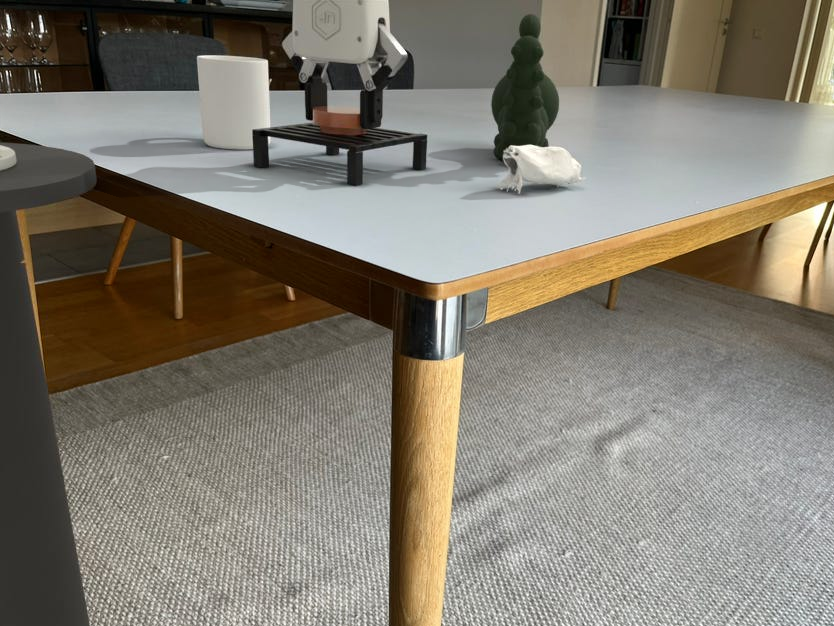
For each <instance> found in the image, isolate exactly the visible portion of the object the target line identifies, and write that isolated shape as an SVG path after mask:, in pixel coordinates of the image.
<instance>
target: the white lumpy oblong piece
mask: <svg viewBox="0 0 834 626" xmlns="http://www.w3.org/2000/svg"><path fill="white" fill-rule="evenodd" d="M503 163H504V165H506V167H507V168H508V171H509V173H508V175H507V176H505V178H504V179H503V180H501V183H500V184H501V186H500V187H499V189H500V191H502V190H503V189H504V188H507V189H506V192H509V189H510V188H511V190H514V191H515V192H517V194H520V195H521V192H522V191H521V190H522V188H523V182H527V183H530V184H531V183H532V184H536V185H538V184H539V185H550V186H556V188H559V187H560V186H561V185H562V184H565V183H566V184H568V185H574V184H578V183H581V182H583V181H586V177H580V176H581V175H580V174H581V171H582V165H581V164H580V163H579V162H578V161H577V160H576V159H575V158H573V157H572V155H571V153H570V152H569V151H567V150H566V149H565V148H564V147H561V146H560V147H559V146H550V145H549V147H538V146H534V145H524V146H512V145H510V146H509V147H508V149H507V148H506V150H504V154H503Z"/></svg>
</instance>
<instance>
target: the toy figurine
mask: <svg viewBox="0 0 834 626" xmlns="http://www.w3.org/2000/svg"><path fill="white" fill-rule="evenodd" d="M541 29H542V25H541V21H540V19H539V17H538V16H537V15H535V14H533V13H529V14H526V15H524V16H523V17H522V18H521V20H520V23H519V26H518V33H519V38H518V39H517V40H516V41H515V42H514V45H513V46H512V47H511V49H510V54H511V55H512V59H513V61H512V62H511V64H510V66H509V68H508V69H507V70H506V72H505V75H504V76H502V78H501V79H499V81H498V82H497V84H496V85H495V87H494V88H493V92H492V96H491V103H490V107H491V113H492V117H493V119H494V122H495V124H496V125H497V131H498V133H497V134H496V135H495V136H494V139H493V144H494V149H493V151H492V152H493V155H494V158H496V159H497V160H500V161H501V160H503V154H504V150H506V148H507V149H508V147H509V146H510V145H512V146H524V145H534V146H538V147H550V145H549V140H548V139H547V132H548V131H549V130H550V128H551V127H552V126H553V124H554V123H555V121H556V119H557V117H558V114H559V109H560V97H559V91H558V90H557V87H556V85H555V83H554V82H553V81H552V79H551V78H550V77H549V76H547V74H545V72H544V71H543V67H542V65H541V62H540V61H541V60H542V58H543V56H544V49H543V47H542V44H541V42H540V41H539V37H540V34H541V32H542V31H541ZM503 161H504V160H503Z"/></svg>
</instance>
